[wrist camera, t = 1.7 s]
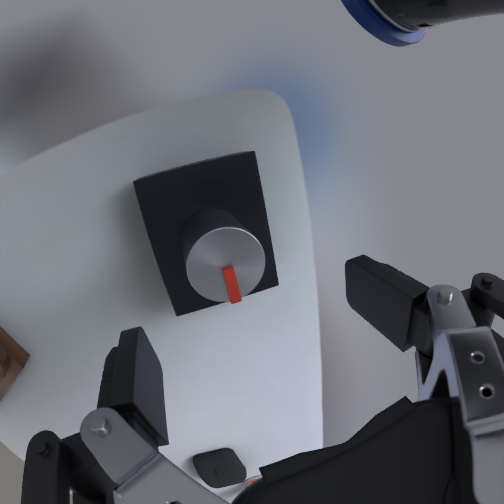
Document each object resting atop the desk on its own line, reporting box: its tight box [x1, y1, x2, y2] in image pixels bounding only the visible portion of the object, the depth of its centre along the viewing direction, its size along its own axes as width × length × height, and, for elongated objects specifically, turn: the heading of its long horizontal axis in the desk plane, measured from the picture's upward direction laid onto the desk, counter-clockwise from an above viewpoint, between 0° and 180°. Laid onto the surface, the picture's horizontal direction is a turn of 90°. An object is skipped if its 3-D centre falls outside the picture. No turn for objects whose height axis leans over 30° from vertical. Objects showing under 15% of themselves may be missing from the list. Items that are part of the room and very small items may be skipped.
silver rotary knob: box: [182, 209, 265, 304], centre depth 16 cm, size 4×4×5 cm
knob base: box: [133, 151, 279, 316], centre depth 19 cm, size 10×8×3 cm
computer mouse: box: [193, 448, 247, 488], centre depth 31 cm, size 6×11×4 cm, turn 11°
